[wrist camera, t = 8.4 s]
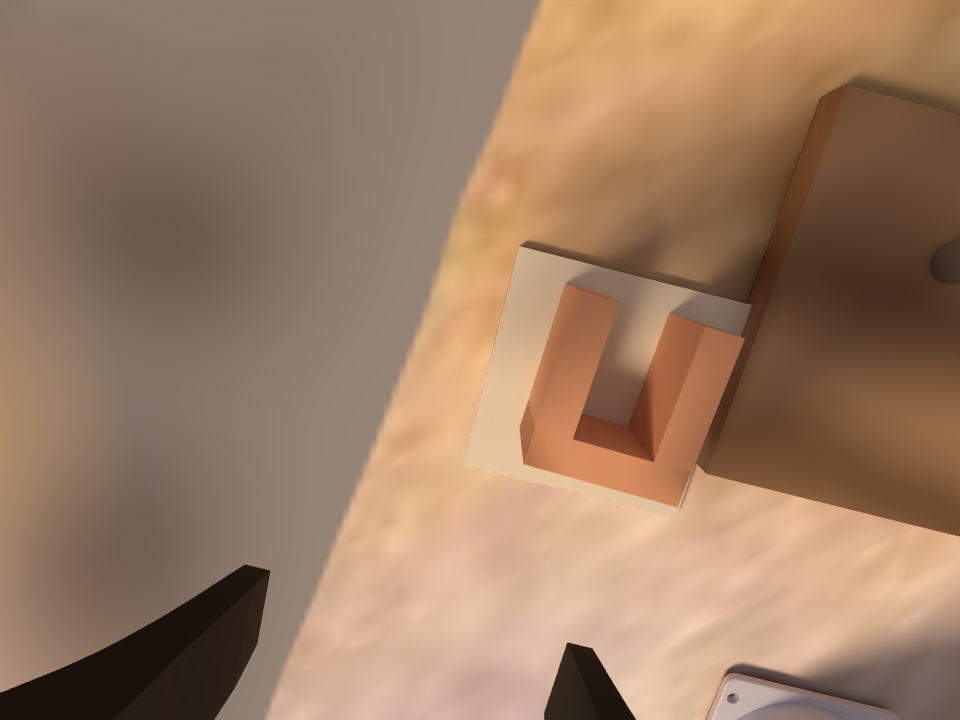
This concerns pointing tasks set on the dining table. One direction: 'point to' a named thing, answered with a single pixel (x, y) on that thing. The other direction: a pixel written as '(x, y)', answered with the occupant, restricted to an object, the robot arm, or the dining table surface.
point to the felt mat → (617, 370)
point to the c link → (657, 414)
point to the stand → (856, 322)
